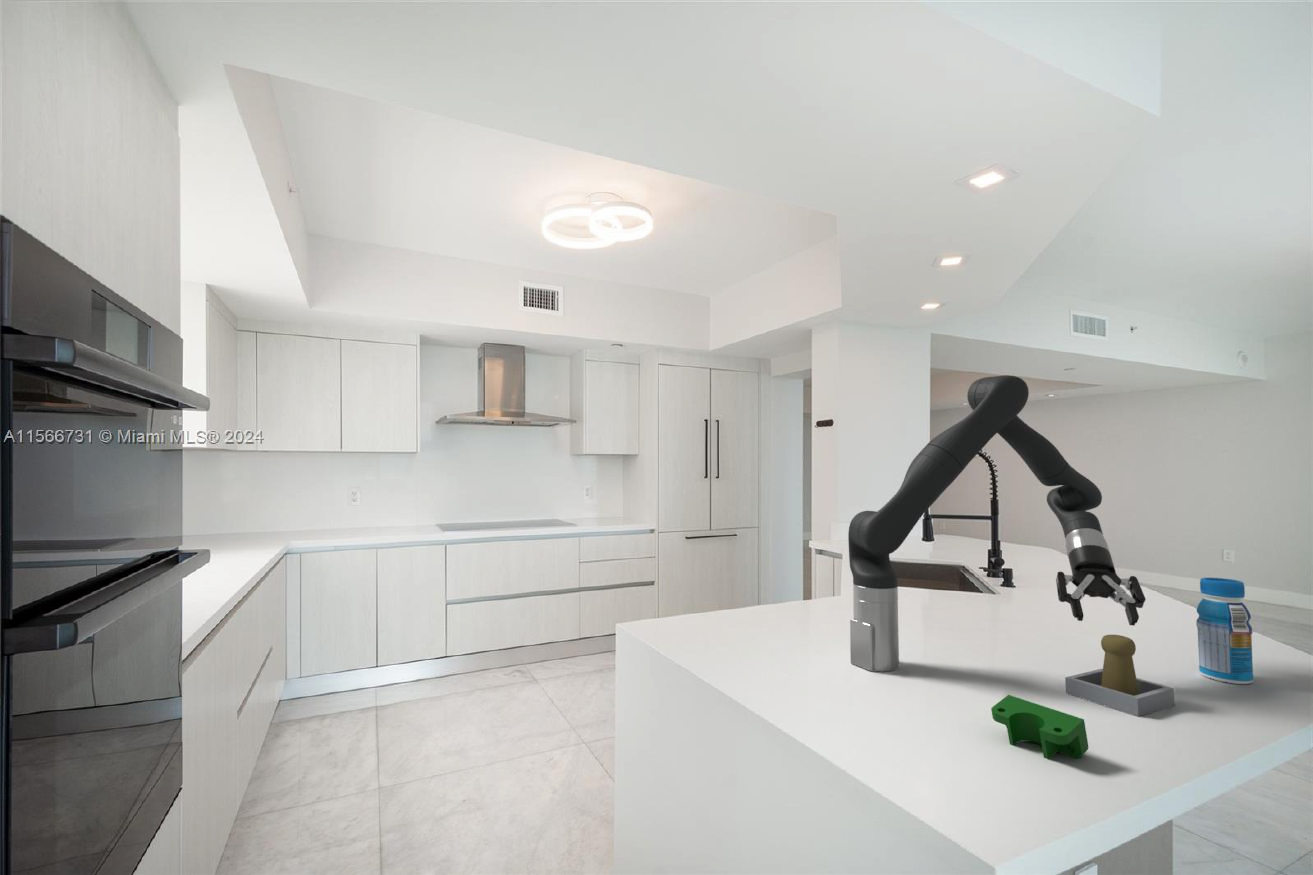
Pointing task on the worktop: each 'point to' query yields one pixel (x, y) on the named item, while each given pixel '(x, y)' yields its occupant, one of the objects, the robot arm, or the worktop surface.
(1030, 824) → the worktop surface
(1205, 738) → the worktop surface
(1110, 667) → the cork
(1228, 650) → the beverage bottle
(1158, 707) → the tray
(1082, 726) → the clamp
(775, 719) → the worktop surface
